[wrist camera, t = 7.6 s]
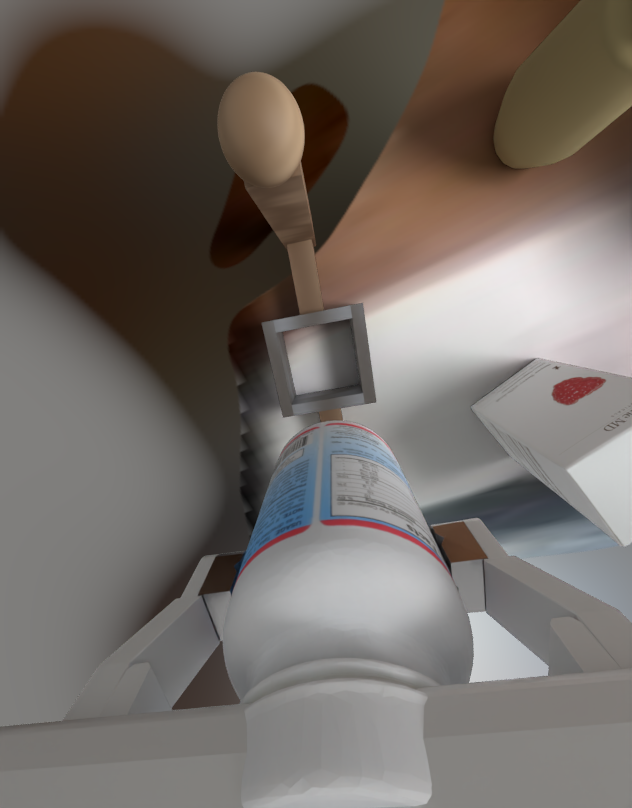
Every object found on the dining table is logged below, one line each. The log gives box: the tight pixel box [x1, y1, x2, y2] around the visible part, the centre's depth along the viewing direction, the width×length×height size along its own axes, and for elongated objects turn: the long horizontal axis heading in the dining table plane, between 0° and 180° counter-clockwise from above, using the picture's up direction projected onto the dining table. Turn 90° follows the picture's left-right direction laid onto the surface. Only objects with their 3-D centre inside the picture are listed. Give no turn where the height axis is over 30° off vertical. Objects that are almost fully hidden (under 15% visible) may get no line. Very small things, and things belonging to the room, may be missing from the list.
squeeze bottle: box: [493, 0, 632, 169], centre depth 18 cm, size 8×8×18 cm
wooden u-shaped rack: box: [218, 72, 376, 422], centre depth 25 cm, size 10×30×19 cm, turn 11°
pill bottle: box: [223, 420, 474, 808], centre depth 10 cm, size 6×6×11 cm
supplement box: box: [471, 358, 632, 547], centre depth 27 cm, size 9×9×15 cm
